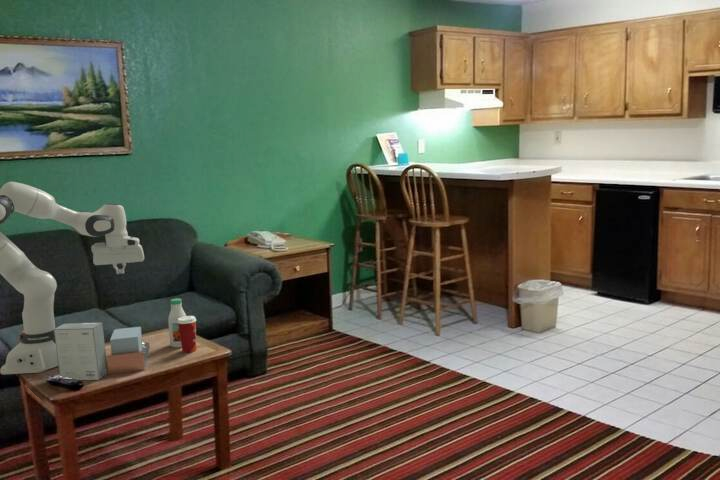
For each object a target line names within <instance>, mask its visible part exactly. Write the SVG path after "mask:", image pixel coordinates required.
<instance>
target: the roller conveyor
mask: <svg viewBox="0 0 720 480" xmlns="http://www.w3.org/2000/svg"><path fill="white" fill-rule="evenodd" d="M142 344H143V350H142V351H135V352H126V353H118V354H112V353H110V354H109V353H108V354H106V360H107V368H108V373H107V374H108V375H113V374H121V373H129V372H135V371H136V372H138V371H145V368H146V364H147V359H148V357H149V352H150V342H145V341H142Z"/></svg>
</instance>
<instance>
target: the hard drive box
mask: <svg viewBox="0 0 720 480" xmlns="http://www.w3.org/2000/svg"><path fill="white" fill-rule="evenodd" d="M54 336H55V344H56V351H57V359H58V366H57V367H58V373H59V377H60V376H62V377H68V378H72V379H77V380H76V381H100V380H101V379H102V378H103V377H105V376H106V375H107V374H108V367H107V358H106V356H107V353H106V345H105V334H104V329H103V322H75V323H62V324H61V325H59V326H57V327H56V328H55V329H54Z"/></svg>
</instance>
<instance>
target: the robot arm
mask: <svg viewBox="0 0 720 480" xmlns="http://www.w3.org/2000/svg"><path fill="white" fill-rule="evenodd" d="M13 212H15V213H19V214H22V215H25V216H28V217H31V218H34V219H41V220H46V219H49V220H54V221H56V222H59V223H61V224H64V225H66V226H69V227H70V228H71V229H72V230H74V231H75V233H77V234H79V235H80V236H88V237H93V238H98V237H102V236H105V241H104V242H96V243H95V242H94V244H92V245H91V253H92V254H93V256H92V259H93V261H92V262H93V264H94V266H106V265H112V267H113V268H114V269H115V272H116V275H121V274H125V268H126V266H127V263H128V264H129V263H140V262H144V260H145V253H144V249H143V245H141V244H140V239H139V237H134V236H130V235H129V233H128V230H127V224H128V223H127V216H126V211H125V208H124V206H123V205H121V204H120V203H110V202H105V203H104V204H103V206H101V207H100V208H99V209H97V210H95V211H93V212H90V211H86V210H85V211H84V210H82V211H76V210H73V209H70V208H68V207H65V206H63V205H60V204H58V203H57V202H56V199H55V197H54V196H53V195H51V194H50V193H48V192H46V191H44V190H42V189H39V188H37V187H34V186H31V185H29V184H27V183H26V184H25V183H21V182H16V181H7V182H6V183H4V184H3V185H2V187H1V188H0V225H2V224H3V223H5V222H6V221H7V220H8V219H9V217H10V216H11V215H12V214H13ZM119 264H121V266H123V267H122V268H119V267H118V265H119ZM0 275H1V276H2V277H3V278H4V279H5V280H6V281H7V282H8V283H9V284H10V285H11V286H12V287H13V288H14V289H15V290H16V291H17V292H19V293H20V294H22V295H23V297H24V298H23V301H24V302H23V310H22V312H21V316H22V322H23V323H22V324H23V330H22V331H21V332H20V334H19V337H18V341H19V343H18V344H17V345H16V346H15V347H14V348H12V349H11V350H10V351H9V352H8V353H7V356H6V360H5V364H3V365H2V366H1V368H0V374H1V375H19V374H21V375H22V374H33V373H34V374H36V373H37V374H38V373H42V372H45V371H46V370H49V369H53V368H56V367H59V366H58V359H57V351H56V344H55V336H54V329H55V328H57V327H56V322H55V315H54V314H55V313H54V312H55V311H54V303H55V292H56V291H57V287H58V284H57V280H56V278H55V277H54V276H53V275H52V274H51V273H50V272H48V271H46V270H42V269H40V268H38V266H36V265H35V264H34V263H33V262H32V261H31V260H30V259H29V258H28V257H27V256H26V254H25V252H24V251H22V250H21V249H20V248H19V247H18V246H17V245H16V244H15V243H14V242H13V241H11V239H9V238H8V237H7V236H6V235H5V234H3V232H2V230H0Z"/></svg>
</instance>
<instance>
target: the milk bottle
mask: <svg viewBox="0 0 720 480" xmlns="http://www.w3.org/2000/svg"><path fill="white" fill-rule="evenodd" d="M169 301H170V311H169V314H168V320H167V322H168V332H169V345H170V347H171V348H182V346H181V339H180V333H179V326H178V323H177V321H178V318H180V317H183V316H187V314H186V313H185V311H184V309H183V305H182V304H183V301H182V298H177V297H176V298H171V299H170V300H169Z"/></svg>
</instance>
